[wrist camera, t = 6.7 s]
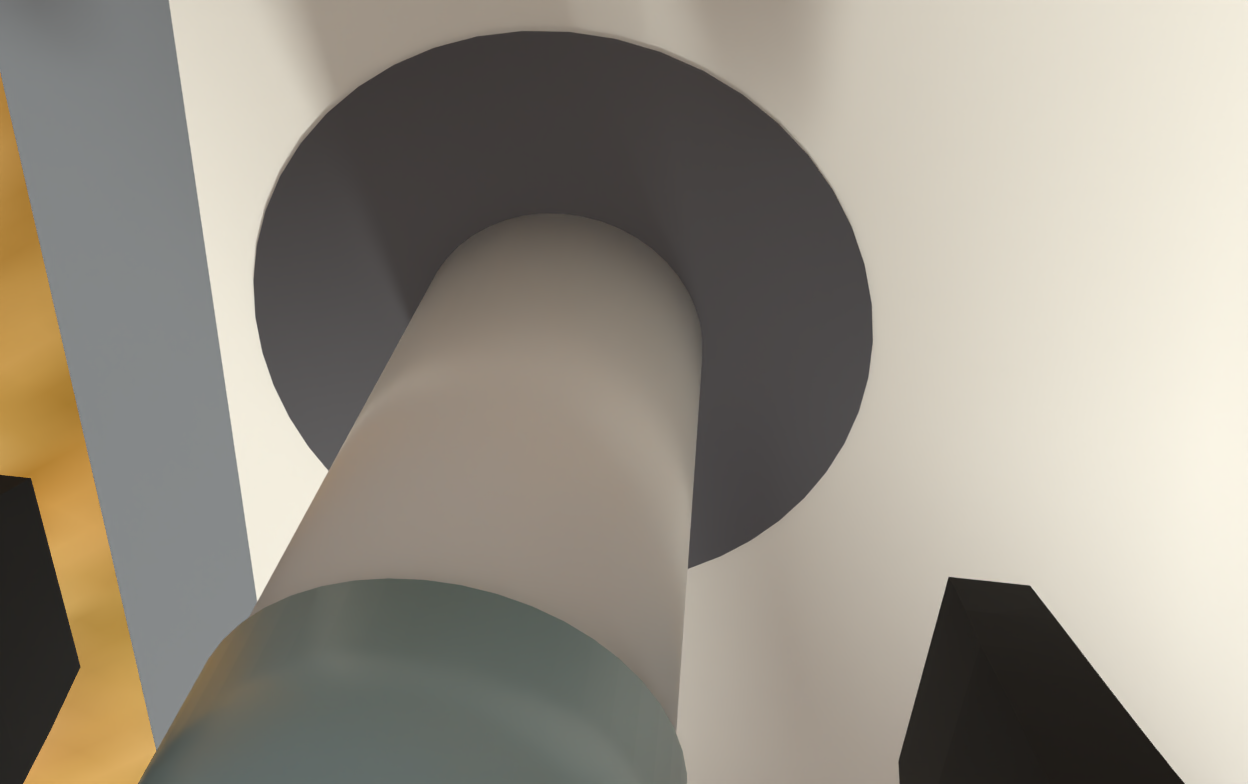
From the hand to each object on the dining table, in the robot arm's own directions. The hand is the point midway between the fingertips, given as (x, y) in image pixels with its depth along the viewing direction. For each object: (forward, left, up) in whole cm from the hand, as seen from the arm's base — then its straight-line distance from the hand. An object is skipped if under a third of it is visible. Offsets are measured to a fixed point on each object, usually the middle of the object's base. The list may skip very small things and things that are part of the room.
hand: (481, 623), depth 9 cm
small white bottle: (0, 0, -5) cm, 5 cm away
